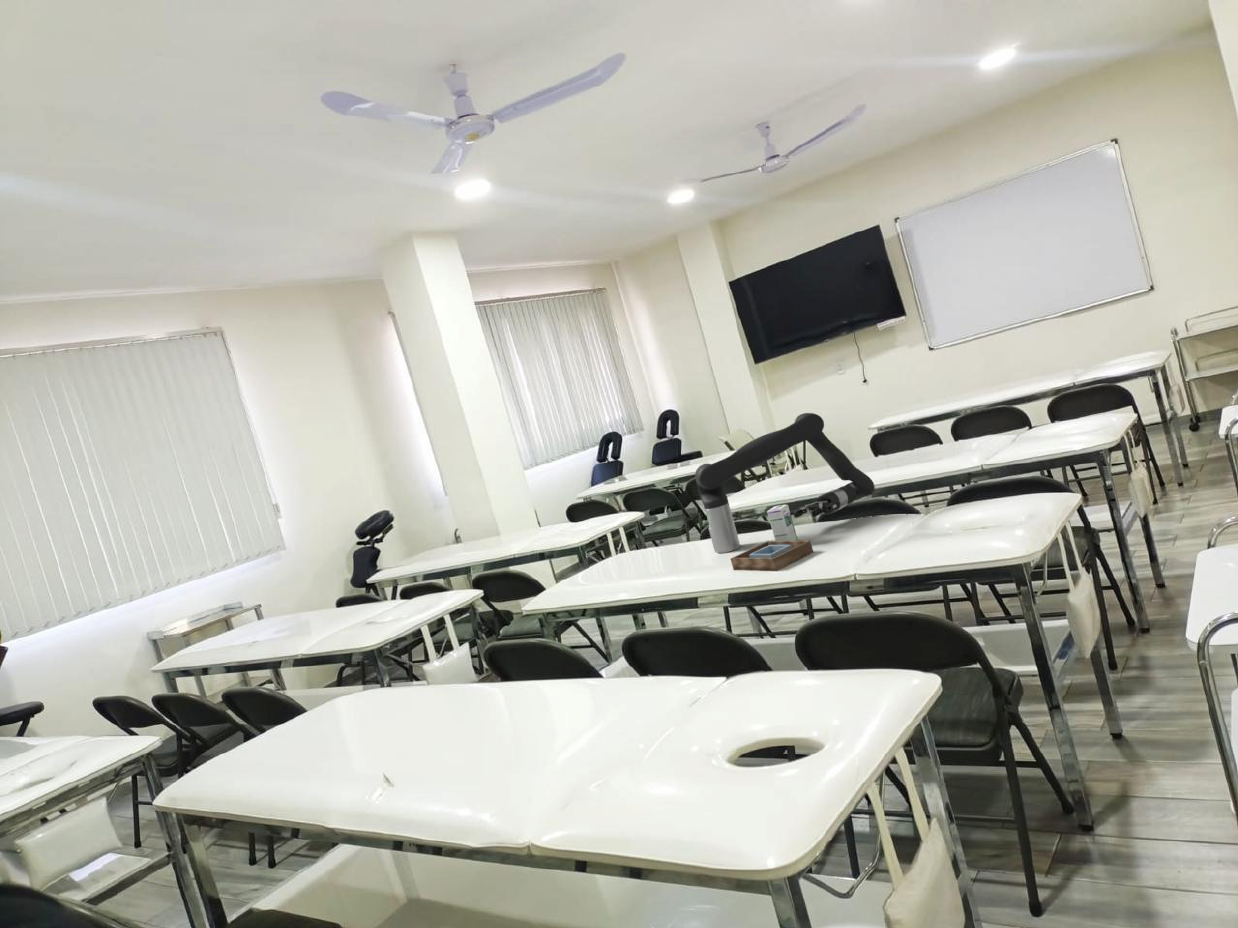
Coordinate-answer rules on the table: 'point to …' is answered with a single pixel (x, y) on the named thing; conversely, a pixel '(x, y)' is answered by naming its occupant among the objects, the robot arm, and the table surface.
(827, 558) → the table surface
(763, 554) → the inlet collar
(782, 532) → the syrup box
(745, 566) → the walnut tray
